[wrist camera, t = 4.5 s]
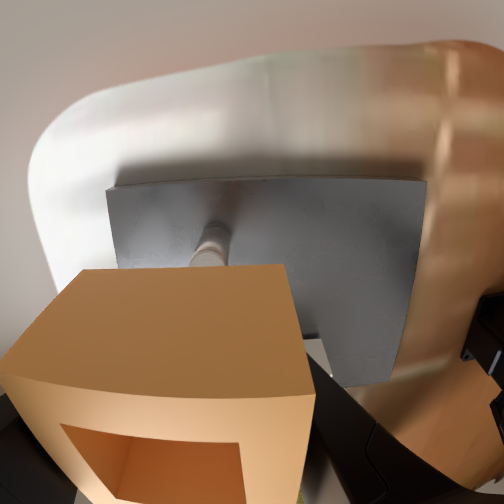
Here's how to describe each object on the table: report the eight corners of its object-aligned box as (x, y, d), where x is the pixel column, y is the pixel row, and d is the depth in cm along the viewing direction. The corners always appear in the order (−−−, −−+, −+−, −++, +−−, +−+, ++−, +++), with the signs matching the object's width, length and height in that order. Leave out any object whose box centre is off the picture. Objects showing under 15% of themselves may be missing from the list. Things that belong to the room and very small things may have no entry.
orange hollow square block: (283, 263, 7) (315, 394, 4) (280, 409, 9) (292, 522, 5) (82, 269, 7) (-7, 369, 4) (127, 405, 9) (95, 505, 5)
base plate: (417, 178, 17) (478, 202, 11) (383, 371, 23) (410, 428, 17) (113, 186, 17) (59, 214, 11) (155, 382, 23) (137, 444, 17)
